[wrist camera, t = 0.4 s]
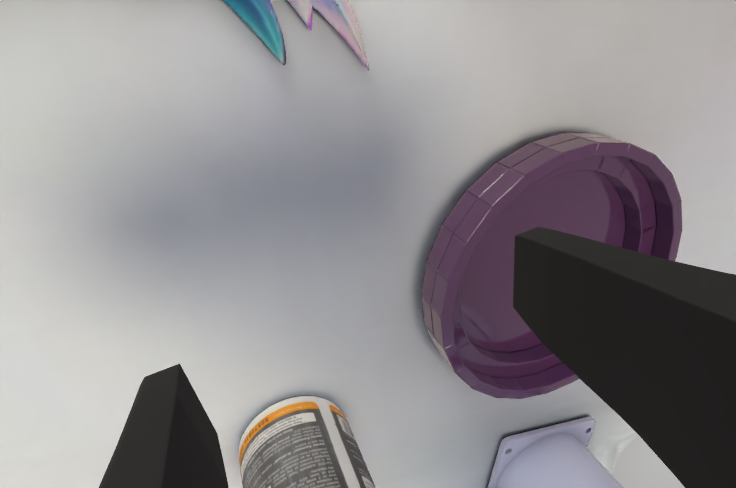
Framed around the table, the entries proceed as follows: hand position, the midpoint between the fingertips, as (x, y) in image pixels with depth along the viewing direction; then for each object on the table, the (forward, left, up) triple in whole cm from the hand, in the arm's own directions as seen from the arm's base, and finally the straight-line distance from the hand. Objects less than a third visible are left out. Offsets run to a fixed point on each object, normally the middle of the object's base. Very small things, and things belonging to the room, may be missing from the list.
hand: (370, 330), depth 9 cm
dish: (-5, -14, -10) cm, 18 cm away
